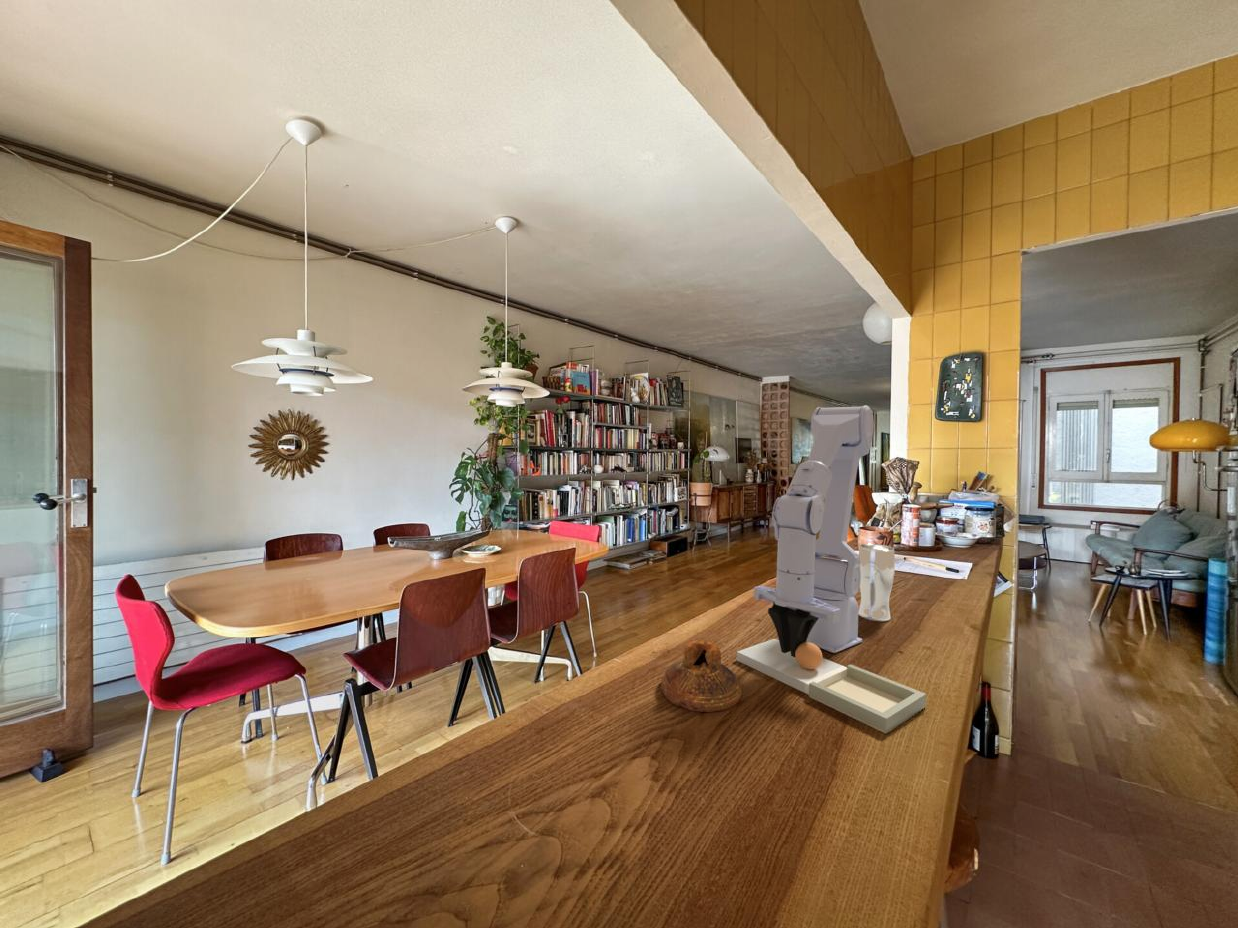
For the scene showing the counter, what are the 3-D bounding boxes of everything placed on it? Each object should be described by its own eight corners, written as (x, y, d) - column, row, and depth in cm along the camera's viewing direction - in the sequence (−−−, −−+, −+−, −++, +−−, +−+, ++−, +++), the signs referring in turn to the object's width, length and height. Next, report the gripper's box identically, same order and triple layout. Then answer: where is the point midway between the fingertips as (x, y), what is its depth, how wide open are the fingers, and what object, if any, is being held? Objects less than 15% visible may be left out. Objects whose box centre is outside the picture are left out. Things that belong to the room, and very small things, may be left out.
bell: (756, 692, 73) (757, 644, 73) (710, 724, 65) (711, 670, 64) (692, 666, 81) (693, 623, 81) (643, 692, 73) (644, 643, 72)
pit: (850, 676, 78) (850, 664, 78) (925, 707, 69) (926, 693, 69) (808, 696, 72) (809, 683, 72) (885, 733, 63) (886, 718, 63)
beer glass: (899, 622, 102) (902, 550, 101) (865, 622, 102) (868, 550, 101) (882, 611, 109) (884, 543, 108) (850, 610, 109) (852, 543, 108)
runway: (774, 646, 89) (774, 638, 89) (848, 677, 78) (848, 668, 78) (736, 660, 83) (736, 651, 83) (810, 695, 72) (811, 685, 72)
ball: (818, 636, 79) (832, 659, 76) (805, 650, 81) (818, 673, 78) (798, 637, 77) (812, 660, 74) (786, 651, 79) (798, 675, 76)
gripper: (743, 563, 83) (740, 643, 83) (822, 584, 71) (819, 677, 71) (769, 558, 87) (766, 634, 87) (849, 577, 75) (845, 665, 76)
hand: (792, 653), depth 80 cm, fingers closed
